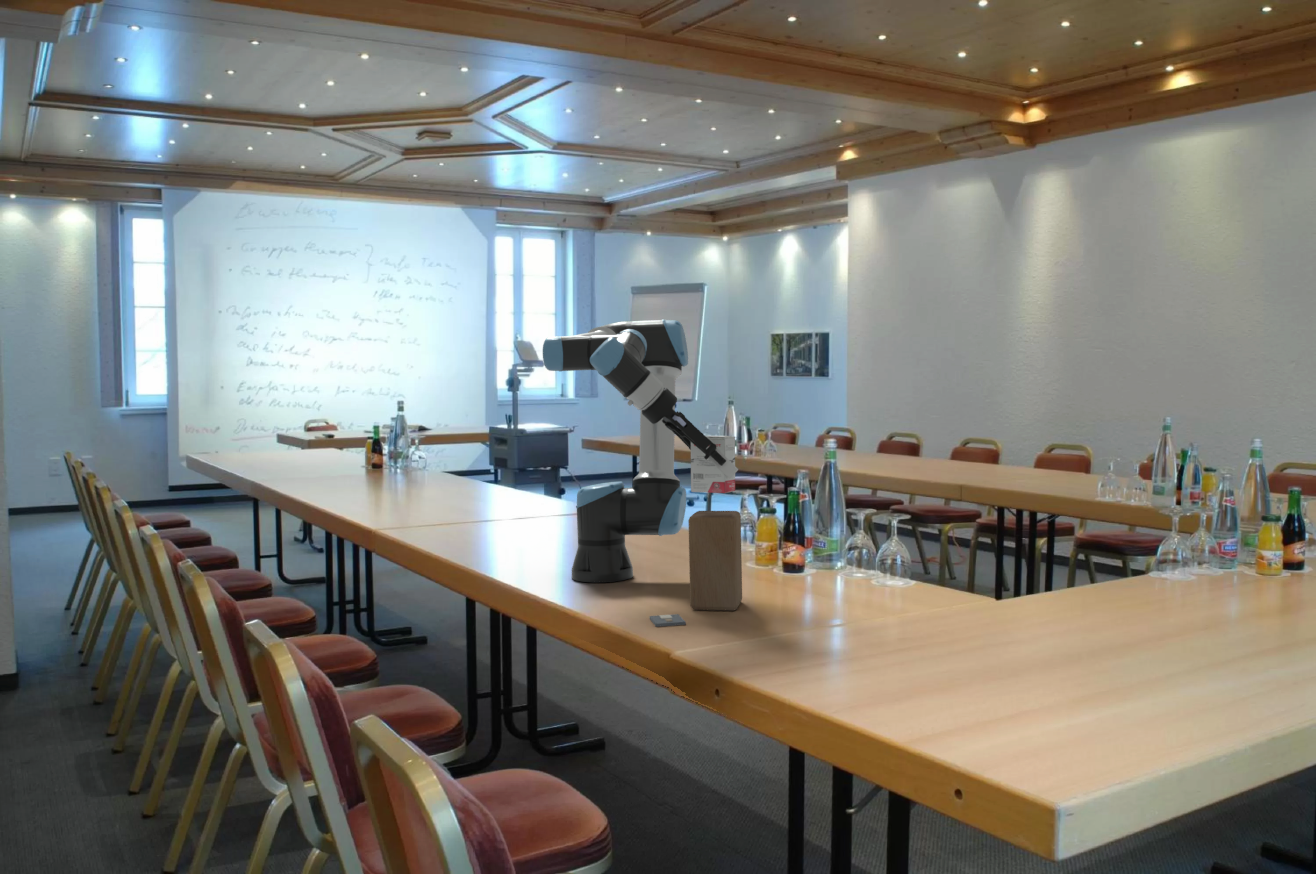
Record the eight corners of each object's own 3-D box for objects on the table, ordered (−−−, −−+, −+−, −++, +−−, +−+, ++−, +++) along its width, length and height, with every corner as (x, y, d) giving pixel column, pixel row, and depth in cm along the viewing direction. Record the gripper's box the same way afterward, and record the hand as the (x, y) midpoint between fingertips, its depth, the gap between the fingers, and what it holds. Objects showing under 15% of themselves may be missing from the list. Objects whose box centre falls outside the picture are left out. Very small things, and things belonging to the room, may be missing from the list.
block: (737, 612, 220) (735, 516, 219) (689, 611, 222) (687, 516, 221) (742, 601, 230) (741, 510, 229) (697, 600, 232) (695, 510, 231)
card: (649, 618, 216) (649, 615, 216) (678, 616, 217) (678, 613, 217) (656, 626, 209) (655, 622, 209) (685, 624, 210) (685, 620, 210)
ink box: (737, 491, 224) (736, 435, 224) (725, 493, 220) (724, 436, 219) (701, 489, 229) (700, 434, 228) (689, 492, 225) (688, 436, 224)
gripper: (631, 410, 231) (704, 480, 235) (649, 413, 210) (729, 490, 214) (655, 385, 232) (726, 455, 236) (675, 386, 211) (753, 463, 215)
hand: (727, 471), depth 225 cm, fingers closed on ink box, 9 cm apart
